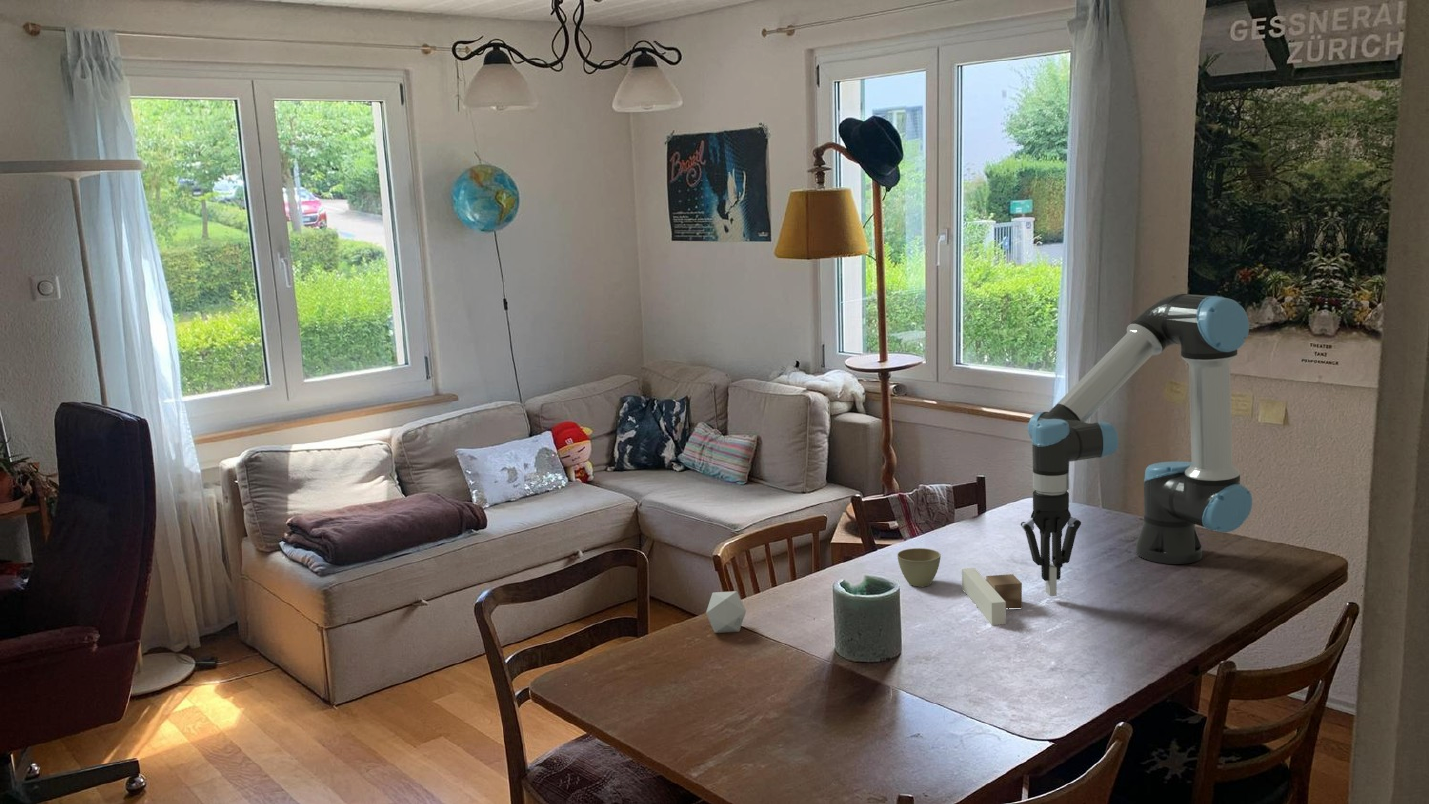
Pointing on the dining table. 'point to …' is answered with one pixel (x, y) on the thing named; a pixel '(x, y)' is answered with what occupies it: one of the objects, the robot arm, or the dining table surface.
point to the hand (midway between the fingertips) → (1051, 593)
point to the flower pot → (919, 565)
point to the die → (725, 612)
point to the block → (1007, 589)
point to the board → (984, 596)
